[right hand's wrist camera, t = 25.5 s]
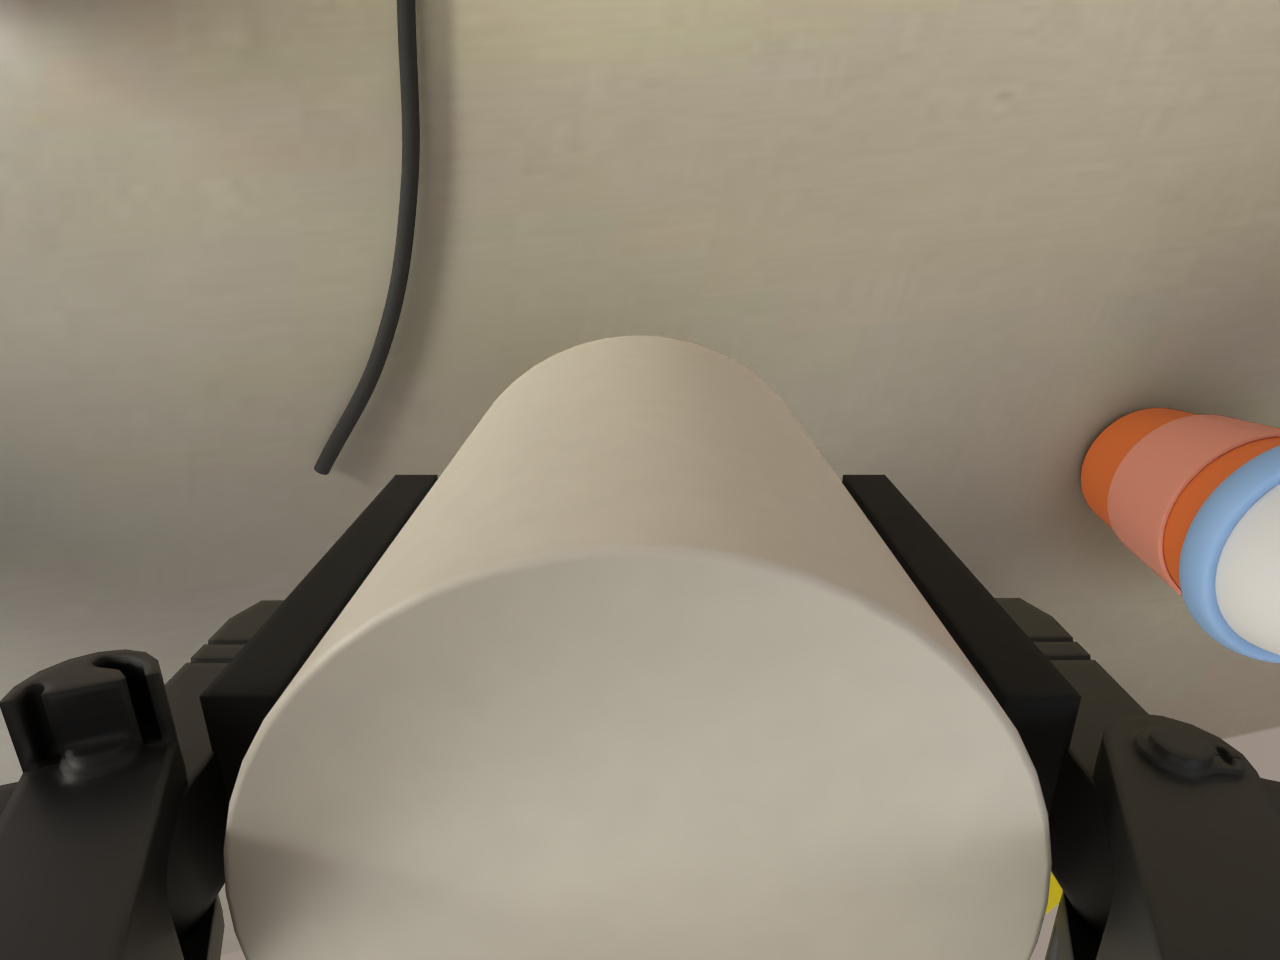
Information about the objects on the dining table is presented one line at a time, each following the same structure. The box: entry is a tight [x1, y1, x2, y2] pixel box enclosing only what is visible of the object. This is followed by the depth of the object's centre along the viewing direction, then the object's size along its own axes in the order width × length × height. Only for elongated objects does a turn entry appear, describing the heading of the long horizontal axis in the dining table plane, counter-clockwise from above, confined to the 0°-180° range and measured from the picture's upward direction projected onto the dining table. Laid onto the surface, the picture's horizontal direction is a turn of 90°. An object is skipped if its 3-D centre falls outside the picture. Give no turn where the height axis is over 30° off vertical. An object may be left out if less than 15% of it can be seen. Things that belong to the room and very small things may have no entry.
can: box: [223, 336, 1052, 960], centre depth 11 cm, size 7×7×9 cm
